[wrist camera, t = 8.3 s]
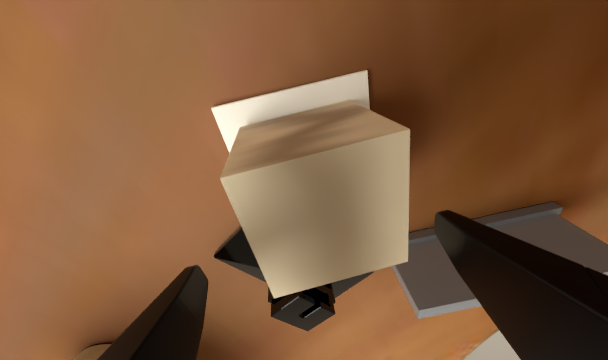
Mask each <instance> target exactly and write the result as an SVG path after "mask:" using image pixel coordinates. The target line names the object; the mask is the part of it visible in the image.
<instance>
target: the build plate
mask: <svg viewBox="0 0 608 360" xmlns="http://www.w3.org/2000/svg"><path fill="white" fill-rule="evenodd" d="M214 257H215V258H216V259H218V260H220V261H222V262H225V263H227V264H229V265H231V266H233V267H235V268H237V269H239V270H242V271H244V272H246V273H248V274H250V275H252V276H254V277H256V278H258V279H261V280H263V281H265V282H266V280H265V277H264V275H263V273H262V271H261V269H260V266H259V264H258V262H257V260H256V258H255V255H254V253H253V251H252V249H251V246H250V244H249V242H248V240H247V238H246V235H245V233H244V231H243V229H242V227H241V228H240V229H239V230H238V231H236V232H235V233H234V234H233V235H232V236H231V237H230V238H229V239H228V240H227V241H226V242H225V243H224V244H223V245H222V246H221V247H220V248H219V249H218V250H217V251H216V252H215V254H214ZM372 273H373V271H372V272H368V273H365V274H361V275H357V276H354V277H350V278H347V279H343V280H339V281H336V282H332V283H329V284H325V285H321V286H318V287H314V288H310V289H307V290H303V291H300V292H296V293H292V294H289V295H285V296H282V297H278V298H274V297H273V295H272V293H271V291H270V289H269V288H268V290H269V291H268V302H270V303H271V317H273V318H276V319H278V320H281V321H283V322H286V323H288V324H291V325H293V326H296V327H298V328H301V329H303V330H306V331H309V330H310V329H312V328H314V327H315V326H317V325H318V324H320V323H322V322H323V321H325V320H326V319H328V318H329V317H331V316H333V315H334V314H335V310H334V305H333V304H334V303H335V298H336V297H337V296H339V295H340V294H342V293H343V292H345V291H346V290H348V289H349V288H351V287H352V286H354V285H355V284H357V283H358V282H360V281H361V280H363V279H365V278H366V277H368V276H369V275H371V274H372Z"/></svg>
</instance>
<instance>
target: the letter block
mask: <svg viewBox="0 0 608 360" xmlns="http://www.w3.org/2000/svg"><path fill="white" fill-rule="evenodd" d="M409 170H410V129H409V128H407V127H405V126H403V125H400V124H398V123H396V122H394V121H392V120H390V119H388V118H386V117H384V116H381V115H379V114H377V113H375V112H373V111H371V110H369V109H367V108H364V107H362V106H360V105H358V104H356V103H354V102H352V101H350V100H346V101H342V102H338V103H334V104H330V105H326V106H322V107H318V108H314V109H310V110H306V111H302V112H298V113H294V114H290V115H286V116H283V117H279V118H275V119H271V120H267V121H263V122H259V123H255V124H251V125H247V126H243V127H240V128H239V131H238V133H237V136H236V138H235V141H234V143H233V146H232V148H231V151H230V154H229V156H228V159H227V161H226V164H225V166H224V169H223V171H222V174H221V176H220V180H221V182H222V184H223V187H224V189H225V191H226V193H227V196H228V198H229V200H230V202H231V204H232V207H233V209H234V211H235V213H236V215H237V218H238V220H239V222H240V224H241V227H242V229H243V231H244V233H245V235H246V238H247V240H248V242H249V244H250V246H251V249H252V251H253V253H254V255H255V258H256V260H257V262H258V264H259V266H260V269H261V271H262V273H263V275H264V277H265V280H266V282H267V284H268V286H269V289H270V291H271V293H272V295H273V297H274V298H278V297H282V296H285V295H289V294H292V293H296V292H300V291H303V290H307V289H310V288H314V287H318V286H321V285H325V284H329V283H332V282H336V281H339V280H343V279H347V278H350V277H354V276H357V275H361V274H365V273H368V272H372V271H376V270H379V269H383V268H386V267H390V266H394V265H397V264H401V263H404V262H408V233H409Z"/></svg>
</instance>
